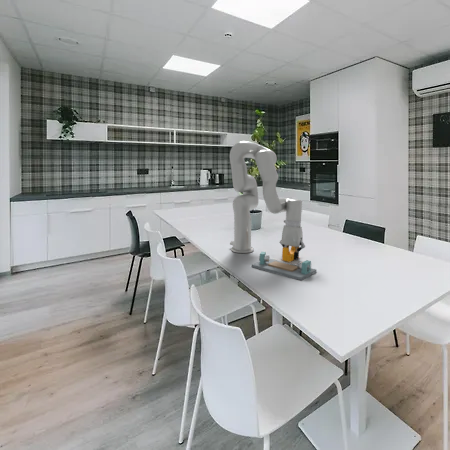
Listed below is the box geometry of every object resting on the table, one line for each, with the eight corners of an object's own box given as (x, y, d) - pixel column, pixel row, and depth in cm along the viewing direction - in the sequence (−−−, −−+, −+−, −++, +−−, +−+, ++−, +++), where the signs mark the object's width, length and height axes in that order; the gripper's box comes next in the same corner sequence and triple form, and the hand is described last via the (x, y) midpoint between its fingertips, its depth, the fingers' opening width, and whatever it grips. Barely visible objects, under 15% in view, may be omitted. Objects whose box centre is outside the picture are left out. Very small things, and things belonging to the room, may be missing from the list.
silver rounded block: (297, 270, 135) (297, 263, 135) (300, 268, 138) (300, 261, 137) (306, 272, 132) (306, 265, 132) (309, 270, 135) (310, 264, 134)
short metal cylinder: (259, 261, 147) (259, 255, 147) (260, 260, 150) (260, 254, 149) (268, 262, 146) (268, 256, 145) (269, 260, 149) (269, 254, 148)
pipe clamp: (289, 261, 153) (290, 249, 152) (282, 260, 156) (282, 248, 155) (300, 256, 163) (300, 244, 161) (292, 255, 165) (293, 243, 164)
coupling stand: (251, 267, 146) (251, 254, 145) (268, 260, 156) (268, 248, 155) (300, 280, 129) (301, 266, 127) (316, 272, 139) (317, 258, 138)
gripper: (274, 222, 159) (273, 256, 162) (304, 226, 148) (302, 263, 151) (282, 220, 164) (281, 253, 168) (312, 224, 153) (309, 259, 156)
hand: (291, 257), depth 159 cm, fingers closed on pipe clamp, 4 cm apart
